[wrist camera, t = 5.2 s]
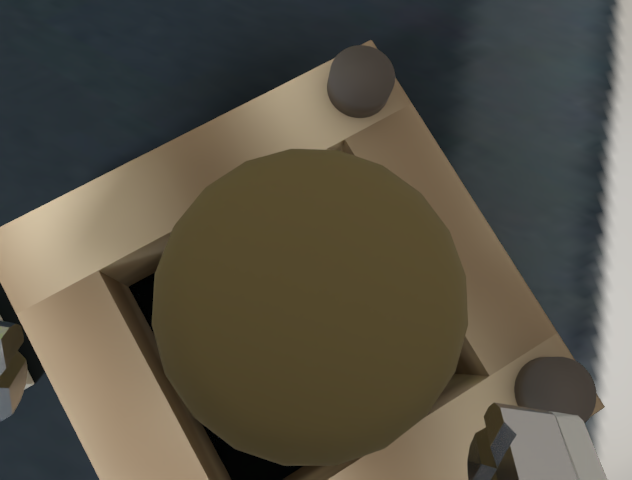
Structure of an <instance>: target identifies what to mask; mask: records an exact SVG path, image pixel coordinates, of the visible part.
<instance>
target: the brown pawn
mask: <svg viewBox="0 0 632 480" xmlns="http://www.w3.org/2000/svg"><path fill="white" fill-rule="evenodd" d="M467 327H468V310H467V287H466V275H465V272H464V269H463V266H462V264H461V261H460V258H459V255H458V252H457V250H456V247H455V244H454V241H453V239H452V236H451V233H450V231H449V229H448V228H447V227H446V225H445V224H444V223H443V221H442V220H441V219H440V217H439V216H438V215H437V213H436V212H435V211H434V209H433V208H432V207H431V206H430V204H429V203H428V202H427V200H426V199H425V198H424V196H423V195H422V194H421V193H420V192H419V191H418V190H416V189H415V188H413V187H412V186H411V185H409V184H408V183H407V182H405V181H404V180H402V179H401V178H400V177H398V176H397V175H395V174H394V173H393V172H391V171H390V170H389V169H387V168H386V167H384V166H383V165H380V164H377V163H375V162H372V161H369V160H366V159H363V158H360V157H357V156H354V155H351V154H348V153H345V152H342V151H339V150H318V149H288V150H285V151H281V152H278V153H274V154H270V155H267V156H263V157H259V158H256V159H252V160H248V161H245V162H244V163H242V164H241V165H239V166H238V167H236V168H235V169H233V170H232V171H230V172H228V173H227V174H225V175H224V176H222V177H221V178H219V179H218V180H216V181H214V182H213V183H211V184H210V185H208V186H207V187H205V189H204V190H203V191H202V192H201V193H200V195H199V196H198V197H197V198H196V200H195V201H194V202H193V203H192V204H191V206H190V207H189V208H188V209H187V210H186V212H185V213H184V214H183V215H182V217H181V218H180V219H179V220H178V221H177V223H176V224H175V225H174V227H173V229H172V231H171V234H170V237H169V239H168V242H167V244H166V247H165V249H164V252H163V254H162V257H161V259H160V262H159V264H158V267H157V270H156V272H155V276H154V293H153V310H152V328H153V332H154V335H155V339H156V343H157V347H158V350H159V354H160V358H161V362H162V365H163V369H164V373H165V375H166V377H167V378H168V380H169V381H170V383H171V384H172V386H173V387H174V389H175V390H176V392H177V393H178V395H179V396H180V398H181V399H182V401H183V402H184V404H185V405H186V407H187V408H188V410H189V411H190V413H191V414H192V416H193V417H194V418H195V419H196V420H198V421H199V422H200V423H202V424H203V425H204V426H205V427H207V428H208V429H209V430H211V431H212V432H213V433H215V434H216V435H217V436H218V437H220V438H221V439H222V440H224V441H225V442H226V443H228V444H229V445H230V446H231V447H233V448H234V449H236V450H239V451H242V452H245V453H248V454H251V455H254V456H256V457H259V458H262V459H265V460H268V461H271V462H274V463H277V464H280V465H283V466H337V465H339V464H342V463H345V462H348V461H351V460H354V459H356V458H359V457H362V456H365V455H368V454H371V453H374V452H376V451H379V450H382V449H385V448H386V447H387V446H389V445H390V444H391V443H393V442H394V441H395V440H396V439H398V438H399V437H400V436H401V435H403V434H404V433H405V432H407V431H408V430H409V429H410V428H412V427H413V426H414V425H415V424H417V423H418V422H419V421H421V420H422V419H423V418H424V417H425V416H426V415H427V414H428V413H429V411H430V410H431V408H432V407H433V405H434V404H435V402H436V401H437V399H438V398H439V396H440V395H441V393H442V391H443V390H444V388H445V387H446V385H447V384H448V382H449V381H450V379H451V378H452V376H453V375H454V373H455V371H456V367H457V364H458V360H459V356H460V353H461V349H462V345H463V342H464V338H465V334H466V331H467Z"/></svg>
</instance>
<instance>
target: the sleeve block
mask: <svg viewBox="0 0 632 480" xmlns="http://www.w3.org/2000/svg"><path fill="white" fill-rule="evenodd" d="M288 149H318V150H339V151H342V152H345V153H348V154H351V155H354V156H357V157H360V158H363V159H366V160H369V161H372V162H375V163H377V164H380V165H383V166H384V167H386V168H387V169H389V170H390V171H391V172H393V173H394V174H395V175H397V176H398V177H400V178H401V179H402V180H404V181H405V182H407V183H408V184H409V185H411V186H412V187H413V188H415V189H416V190H418V191H419V192H420V193H421V194H422V195H423V196H424V198H425V199H426V200H427V202H428V203H429V204H430V206H431V207H432V208H433V209H434V211H435V212H436V213H437V215H438V216H439V217H440V219H441V220H442V221H443V223H444V224H445V225H446V227H447V228H448V229H449V231H450V233H451V236H452V239H453V241H454V244H455V247H456V250H457V252H458V255H459V258H460V261H461V264H462V266H463V269H464V272H465V275H466V287H467V310H468V327H467V331H466V334H465V338H464V342H463V345H462V349H461V353H460V356H459V360H458V364H457V367H456V371H455V373H454V375H453V376H452V378H451V379H450V381H449V382H448V384H447V385H446V387H445V388H444V390H443V391H442V393H441V395H440V396H439V398H438V399H437V401H436V402H435V404H434V405H433V407H432V408H431V410H430V411H429V413H428V414H427V415H426V416H425V417H424V418H423V419H422V420H421V421H419V422H418V423H417V424H415V425H414V426H413V427H412V428H410V429H409V430H408V431H407V432H405V433H404V434H403V435H401V436H400V437H399V438H398V439H396V440H395V441H394V442H393V443H391V444H390V445H389V446H387V447H386V448H385V449H382V450H379V451H376V452H374V453H371V454H368V455H365V456H362V457H359V458H356V459H354V460H351V461H348V462H345V463H342V464H339V465H337V466H303V467H301V468H300V469H298V470H296V471H295V472H293V473H292V474H290V475H288V476H287V477H285V478H284V479H282V480H469V479H468V470H467V459H468V453H469V447H470V444H471V442H472V440H473V437H474V435H475V433H476V432H478V431H480V430H482V429H484V428H485V427H486V425H485V421H484V415H485V413H486V411H487V409H488V407H489V406H490V405H491V404H493V403H494V402H495V403H501V404H507V405H514V406H520V407H527V408H533V409H540V410H546V411H548V412H549V411H552V412H558V413H565V414H571V415H578V416H579V417H580V418H581V419H582V420H583V421H584V423H585V422H586V421H587V420H588V419H589V418H590V417H591V416H592V415H594V414H595V413H597V412H598V411H600V410H601V409H603V408H604V407H605V406H604V405H603V403H602V402H601V400H600V399H599V397H598V395H597V394H596V388H595V384H594V382H593V379H592V377H591V375H590V374H589V372H588V371H587V370H586V369H585V368H584V367H583V366H582V365H581V364H580V363H578V362H577V361H575V359H574V358H573V356H572V355H571V353H570V351H569V350H568V348H567V347H566V345H565V344H564V342H563V340H562V339H561V337H560V336H559V334H558V333H557V331H556V329H555V328H554V326H553V325H552V323H551V321H550V320H549V318H548V317H547V315H546V314H545V312H544V310H543V309H542V307H541V306H540V304H539V303H538V301H537V299H536V298H535V296H534V295H533V293H532V292H531V290H530V288H529V287H528V285H527V284H526V282H525V281H524V279H523V277H522V276H521V274H520V273H519V271H518V270H517V268H516V266H515V265H514V263H513V262H512V260H511V259H510V257H509V255H508V254H507V252H506V251H505V249H504V248H503V246H502V244H501V243H500V241H499V240H498V238H497V237H496V235H495V233H494V232H493V230H492V229H491V227H490V225H489V224H488V222H487V221H486V219H485V218H484V216H483V214H482V213H481V211H480V210H479V208H478V207H477V205H476V203H475V202H474V200H473V199H472V197H471V196H470V194H469V192H468V191H467V189H466V188H465V186H464V185H463V183H462V181H461V180H460V178H459V177H458V175H457V174H456V172H455V170H454V169H453V167H452V166H451V164H450V163H449V161H448V159H447V158H446V156H445V155H444V153H443V152H442V150H441V148H440V147H439V145H438V144H437V142H436V141H435V139H434V137H433V136H432V134H431V133H430V131H429V130H428V128H427V126H426V125H425V123H424V122H423V120H422V118H421V117H420V115H419V114H418V112H417V111H416V109H415V107H414V106H413V104H412V103H411V101H410V100H409V98H408V96H407V95H406V93H405V92H404V90H403V89H402V87H401V85H400V84H399V82H398V81H397V79H396V78H395V71H394V68H393V65H392V63H391V61H390V60H389V59H388V57H387V56H386V55H385V54H384V53H382V52H381V51H379V50H378V49H377V48H376V46H375V45H374V43H373V41H372V40H370V41H368V42H366V43H364V44H362V45H356V46H351V47H348V48H346V49H344V50H343V51H341V52H340V53H339V54H338V55H337V56H336V57H335V58H334V59H332V60H330V61H328V62H326V63H324V64H322V65H320V66H318V67H316V68H314V69H312V70H310V71H308V72H306V73H304V74H302V75H300V76H298V77H296V78H294V79H292V80H290V81H288V82H286V83H284V84H282V85H281V86H279V87H277V88H275V89H273V90H271V91H269V92H267V93H265V94H263V95H261V96H259V97H257V98H255V99H253V100H251V101H249V102H247V103H245V104H243V105H241V106H239V107H237V108H235V109H233V110H231V111H229V112H227V113H225V114H223V115H221V116H219V117H217V118H215V119H213V120H211V121H209V122H207V123H205V124H203V125H201V126H199V127H197V128H195V129H193V130H191V131H189V132H187V133H185V134H183V135H181V136H179V137H178V138H176V139H174V140H172V141H170V142H168V143H166V144H164V145H162V146H160V147H158V148H156V149H154V150H152V151H150V152H148V153H146V154H144V155H142V156H140V157H138V158H136V159H134V160H132V161H130V162H128V163H126V164H124V165H122V166H120V167H118V168H116V169H114V170H112V171H110V172H108V173H106V174H104V175H102V176H100V177H98V178H96V179H94V180H92V181H90V182H88V183H86V184H84V185H82V186H80V187H78V188H77V189H75V190H73V191H71V192H69V193H67V194H65V195H63V196H61V197H59V198H57V199H55V200H53V201H51V202H49V203H47V204H45V205H43V206H41V207H39V208H37V209H35V210H33V211H31V212H29V213H27V214H25V215H23V216H21V217H19V218H17V219H15V220H13V221H11V222H9V223H7V224H5V225H3V226H1V227H0V283H1V285H2V287H3V289H4V291H5V293H6V294H7V296H8V298H9V300H10V302H11V304H12V306H13V308H14V310H15V312H16V314H17V316H18V318H19V320H20V322H21V324H22V326H23V328H24V330H25V332H26V334H27V336H28V338H29V340H30V342H31V344H32V346H33V348H34V350H35V352H36V354H37V356H38V358H39V360H40V362H41V364H42V366H43V368H44V370H45V372H46V374H47V376H48V378H49V380H50V382H51V384H52V386H53V388H54V390H55V392H56V394H57V396H58V398H59V400H60V402H61V404H62V406H63V408H64V410H65V412H66V414H67V416H68V418H69V420H70V422H71V423H72V425H73V427H74V429H75V431H76V433H77V435H78V437H79V439H80V441H81V443H82V445H83V447H84V449H85V451H86V453H87V455H88V457H89V459H90V461H91V463H92V465H93V467H94V469H95V471H96V473H97V475H98V477H99V479H100V480H232V479H231V478H230V476H229V474H228V472H227V470H226V468H225V466H224V464H223V463H222V461H221V459H220V457H219V455H218V453H217V451H216V450H215V448H214V446H213V444H212V442H211V440H210V438H209V436H208V435H207V433H206V431H205V429H204V427H203V425H202V423H200V422H199V421H198V420H196V419H195V418H194V417H193V416H192V414H191V413H190V411H189V410H188V408H187V407H186V405H185V404H184V402H183V401H182V399H181V398H180V396H179V395H178V393H177V392H176V390H175V389H174V387H173V386H172V384H171V383H170V381H169V380H168V378H167V377H166V375H165V373H164V369H163V365H162V362H161V358H160V354H159V350H158V347H157V343H156V339H155V336H154V334H153V332H152V330H151V328H150V326H149V324H148V322H147V321H146V319H145V317H144V315H143V313H142V311H141V309H140V308H139V306H138V304H137V302H136V300H135V298H134V296H133V294H132V293H131V291H130V289H129V286H131V285H133V284H135V283H136V282H138V281H140V280H142V279H144V278H146V277H147V276H149V275H151V274H153V273H155V272H156V270H157V267H158V264H159V262H160V259H161V257H162V254H163V252H164V249H165V247H166V244H167V242H168V239H169V237H170V234H171V231H172V229H173V227H174V225H175V224H176V223H177V221H178V220H179V219H180V218H181V217H182V215H183V214H184V213H185V212H186V210H187V209H188V208H189V207H190V206H191V204H192V203H193V202H194V201H195V200H196V198H197V197H198V196H199V195H200V193H201V192H202V191H203V190H204V189H205V187H207V186H208V185H210V184H211V183H213V182H214V181H216V180H218V179H219V178H221V177H222V176H224V175H225V174H227V173H228V172H230V171H232V170H233V169H235V168H236V167H238V166H239V165H241V164H242V163H244V162H245V161H248V160H252V159H256V158H259V157H263V156H267V155H270V154H274V153H278V152H281V151H285V150H288Z"/></svg>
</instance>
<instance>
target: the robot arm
mask: <svg viewBox="0 0 632 480" xmlns="http://www.w3.org/2000/svg"><path fill="white" fill-rule="evenodd" d="M23 342H24V337H23V331H22V326H20V325H18V324H16V323H11V322H6V321H0V421H2V420H4V419H5V418H7V417H9V416H10V415H12V414H13V412H14V411H15V409H16V407H17V405H18V404H19V402H20V400H21V397H22V394H23V391H24V388H25V385H26V381H27V371H28V370H27V360H26V359H25V358H24V357H23V356H22V354H21V353H20V352H19V351H18V349H19V348H20V346H21V345H22V343H23ZM484 421H485V425H486V427H485V428H484V429H482V430H480V431H478V432H476V433H475V435H474V437H473V440H472V442H471V444H470V447H469V453H468V459H467V470H468V479H469V480H607V478H606V475H605V473H604V470H603V468H602V465H601V463H600V460H599V458H598V456H597V453H596V451H595V448H594V446H593V443H592V441H591V438H590V436H589V433H588V431H587V428H586V426H585V423H584V421H583V420H582V419H581V418H580V417H579V416H578V415H571V414H565V413H558V412H552V411H549V412H548V411H546V410H540V409H533V408H527V407H520V406H514V405H507V404H501V403H495V402H494V403H493V404H491V405H490V406H489V407H488V409H487V411H486V413H485V415H484Z"/></svg>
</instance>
